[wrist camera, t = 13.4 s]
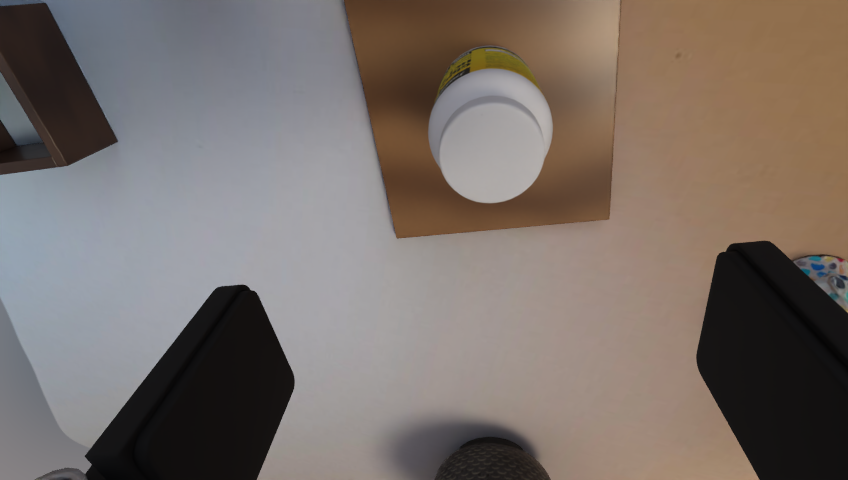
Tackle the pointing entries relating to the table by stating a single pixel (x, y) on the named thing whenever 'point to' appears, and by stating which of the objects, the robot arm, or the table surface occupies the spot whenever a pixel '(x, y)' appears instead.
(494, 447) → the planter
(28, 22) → the holder
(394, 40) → the board
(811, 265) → the figurine
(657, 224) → the table surface
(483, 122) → the pill bottle
